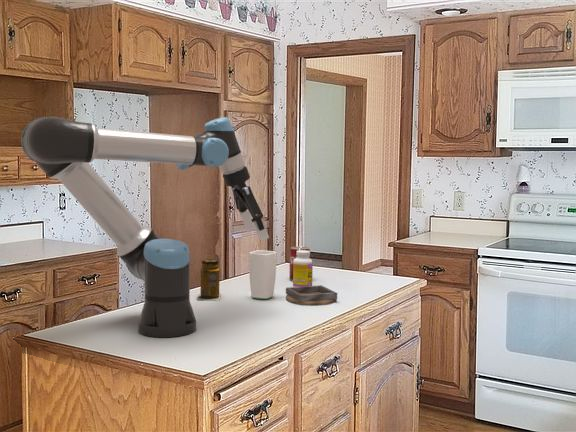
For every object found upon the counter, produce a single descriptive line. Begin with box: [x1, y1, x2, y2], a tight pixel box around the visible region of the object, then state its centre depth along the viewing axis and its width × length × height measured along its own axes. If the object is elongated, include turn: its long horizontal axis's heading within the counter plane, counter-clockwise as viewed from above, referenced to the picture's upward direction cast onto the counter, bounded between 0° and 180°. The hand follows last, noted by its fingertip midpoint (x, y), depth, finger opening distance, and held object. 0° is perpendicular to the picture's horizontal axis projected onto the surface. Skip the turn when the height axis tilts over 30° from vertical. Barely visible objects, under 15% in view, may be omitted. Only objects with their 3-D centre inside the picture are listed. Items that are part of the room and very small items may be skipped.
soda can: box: [288, 245, 311, 282], centre depth 247 cm, size 7×7×12 cm
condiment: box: [196, 258, 222, 301], centre depth 218 cm, size 7×8×12 cm
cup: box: [248, 249, 277, 300], centre depth 218 cm, size 7×7×15 cm
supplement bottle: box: [292, 250, 314, 287], centre depth 233 cm, size 7×7×13 cm
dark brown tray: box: [285, 284, 338, 306], centre depth 217 cm, size 16×16×3 cm
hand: (257, 235), depth 205 cm, fingers open, 13 cm apart
